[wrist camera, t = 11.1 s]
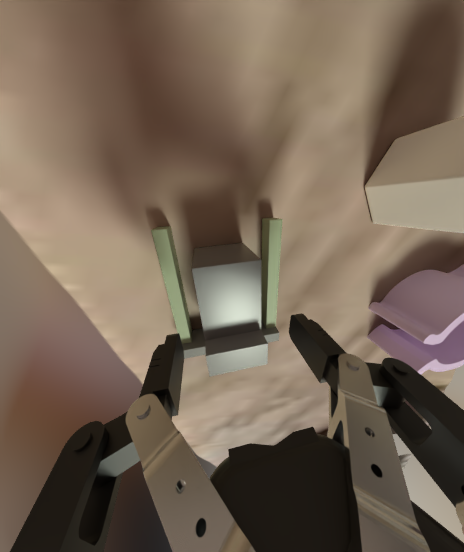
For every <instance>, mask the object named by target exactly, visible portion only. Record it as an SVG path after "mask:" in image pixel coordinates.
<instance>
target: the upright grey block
mask: <svg viewBox="0 0 464 552" xmlns="http://www.w3.org/2000/svg"><path fill="white" fill-rule="evenodd" d="M192 273H193V278H194V284H195V289H196V294H197V300H198V305H199V310H200V316H201V321H202V326H203V332H204V337H205V351H206V360H207V365H208V370H209V376H214V375H219V374H224V373H228V372H233V371H237V370H242V369H247V368H251V367H256V366H260V365H265V364H267V357H268V343H267V341H266V339H265V337H264V335H263V333H262V331H261V259H260V258H259V257H258V256H257V255H255V254H254V253H253V252H252V251H251V250H250V249H249V248H248V247H247V246H246V245H244V244H243V243H236V244H227V245H218V246H209V247H201V248H194V256H193V263H192Z"/></svg>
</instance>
